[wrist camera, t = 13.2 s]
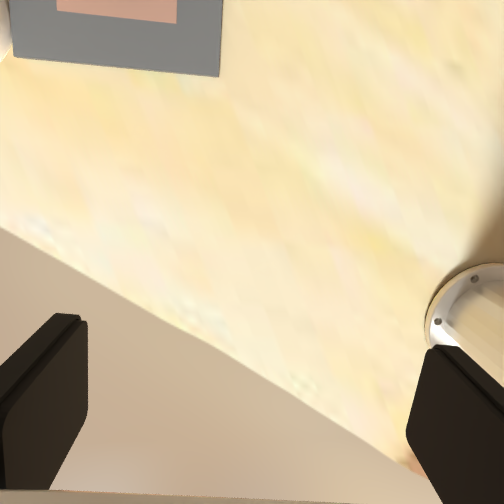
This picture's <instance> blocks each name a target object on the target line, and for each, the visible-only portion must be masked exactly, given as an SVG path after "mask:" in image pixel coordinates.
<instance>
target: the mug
mask: <svg viewBox="0 0 504 504" xmlns="http://www.w3.org/2000/svg"><path fill="white" fill-rule="evenodd" d="M11 44H12V31H11V20H10V8H9V1H8V0H0V62H1V61H2V60H3V59H4V57H5V56H6V55H7V53H8V51H9V49H10V47H11Z"/></svg>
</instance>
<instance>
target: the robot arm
mask: <svg viewBox="0 0 504 504" xmlns="http://www.w3.org/2000/svg"><path fill="white" fill-rule="evenodd" d="M425 336H426V341H427V344H428V346H429V349H428V350H427V352H426V354H425V358H424V362H423V366H422V370H421V373H420V377H419V381H418V385H417V389H416V392H415V396H414V400H413V404H412V408H411V411H410V415H409V419H408V423H407V427H406V438H407V441H408V443H409V445H410V447H411V449H412V450H413V452H414V454H415V456H416V457H417V459H418V461H419V463H420V464H421V466H422V468H423V470H424V471H425V473H426V475H427V477H428V478H429V480H430V482H431V483H432V485H433V487H434V489H435V491H436V492H437V494H438V496H439V498H440V499H441V501H442V503H443V504H504V264H502V263H489V264H481V265H478V266H475V267H472V268H469V269H467V270H465V271H463V272H461V273H459V274H458V275H456V276H455V277H454V278H452V279H451V280H450V281H448V282H447V283H446V284H445V285H444V286H443V287H442V288H441V289H440V291H439V292H438V294H437V295H436V296H435V298H434V299H433V301H432V303H431V305H430V307H429V309H428V313H427V316H426V320H425ZM87 411H88V325H87V322H86V321H81V317H80V316H79V315H73V314H61V313H55V314H54V315H53V316H52V317H51V318H50V319H49V320H48V321H47V322H46V323H44V324H43V325H42V326H41V328H39V329H38V330H37V331H36V332H35V333H34V334H33V335H32V336H31V337H30V338H29V339H28V340H27V341H26V342H25V343H24V344H23V345H22V346H21V347H20V348H19V349H17V350H16V352H14V353H13V354H12V355H11V356H10V357H9V358H8V359H7V360H6V361H5V362H4V363H3V364H2V365H1V366H0V504H349V503H330V502H329V503H328V502H308V501H287V500H266V499H246V498H245V499H244V498H226V497H205V496H182V495H160V494H137V493H115V492H92V491H69V490H49V488H50V486H51V484H52V482H53V480H54V479H55V477H56V475H57V473H58V471H59V469H60V467H61V465H62V463H63V462H64V460H65V458H66V456H67V454H68V452H69V450H70V448H71V447H72V445H73V443H74V441H75V439H76V437H77V435H78V433H79V432H80V430H81V428H82V426H83V424H84V422H85V419H86V416H87Z"/></svg>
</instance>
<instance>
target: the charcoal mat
mask: <svg viewBox="0 0 504 504" xmlns="http://www.w3.org/2000/svg"><path fill="white" fill-rule="evenodd" d="M222 2H223V0H9V8H10V20H11V31H12V43H13V55H14V57H17V58H26V59H36V60H46V61H57V62H67V63H77V64H87V65H97V66H108V67H118V68H128V69H138V70H148V71H159V72H169V73H179V74H189V75H199V76H210V77H219V60H220V41H221V21H222Z"/></svg>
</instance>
